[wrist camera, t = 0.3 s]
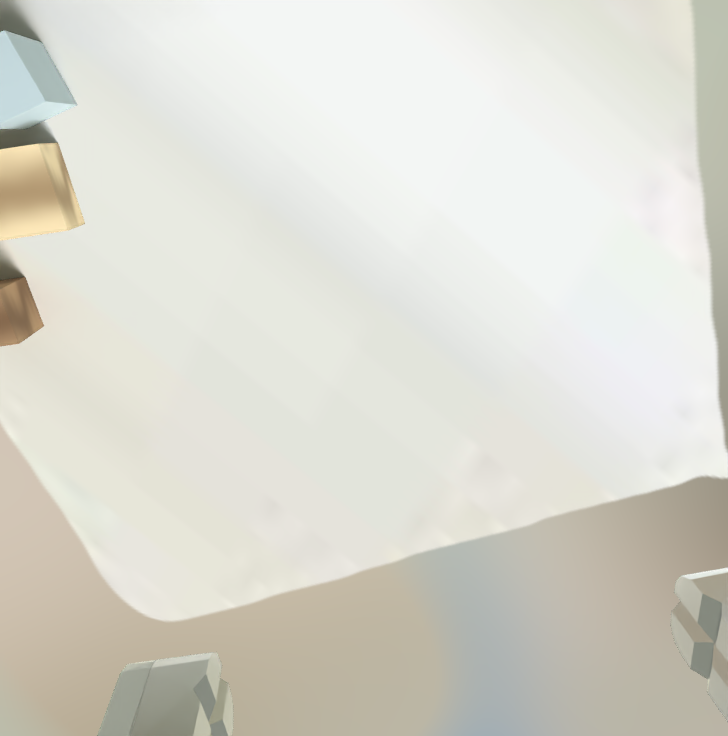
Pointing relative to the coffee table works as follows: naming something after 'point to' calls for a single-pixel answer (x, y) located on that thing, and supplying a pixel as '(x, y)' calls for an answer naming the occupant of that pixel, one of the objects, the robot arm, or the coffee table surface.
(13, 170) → the oak base block
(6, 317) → the walnut block
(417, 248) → the coffee table surface
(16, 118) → the grey-blue block
